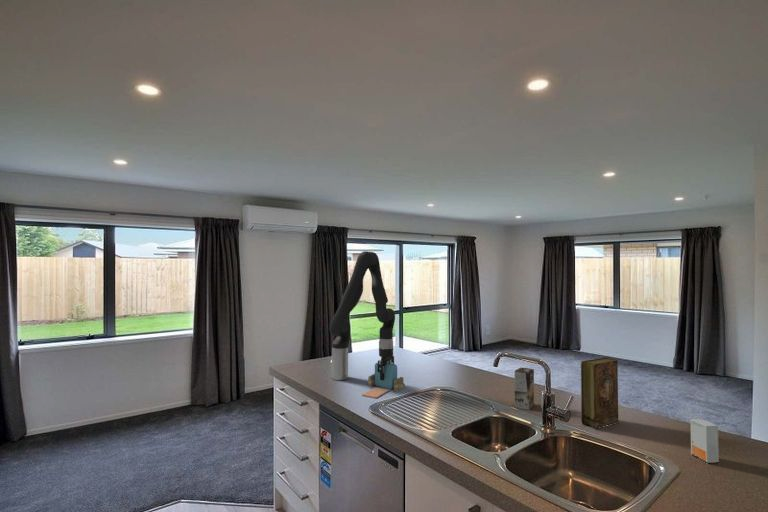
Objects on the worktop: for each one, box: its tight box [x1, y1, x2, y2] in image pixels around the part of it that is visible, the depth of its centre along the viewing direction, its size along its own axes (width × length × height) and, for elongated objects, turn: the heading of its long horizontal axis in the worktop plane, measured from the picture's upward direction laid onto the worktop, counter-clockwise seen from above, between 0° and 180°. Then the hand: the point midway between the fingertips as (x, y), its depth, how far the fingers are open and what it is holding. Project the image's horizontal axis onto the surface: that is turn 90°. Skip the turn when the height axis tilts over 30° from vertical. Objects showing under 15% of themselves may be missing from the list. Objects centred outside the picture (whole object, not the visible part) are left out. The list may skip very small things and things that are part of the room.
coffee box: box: [514, 367, 535, 411], centre depth 173 cm, size 9×6×16 cm
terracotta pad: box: [361, 386, 391, 399], centre depth 189 cm, size 8×14×1 cm, turn 151°
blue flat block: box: [374, 362, 398, 390], centre depth 200 cm, size 12×4×12 cm, turn 50°
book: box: [580, 357, 619, 430], centre depth 153 cm, size 16×6×25 cm, turn 117°
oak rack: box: [367, 373, 406, 392], centre depth 201 cm, size 16×10×5 cm, turn 61°
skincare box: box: [689, 418, 720, 463], centre depth 124 cm, size 6×4×12 cm
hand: (386, 378), depth 200 cm, fingers open, 8 cm apart
